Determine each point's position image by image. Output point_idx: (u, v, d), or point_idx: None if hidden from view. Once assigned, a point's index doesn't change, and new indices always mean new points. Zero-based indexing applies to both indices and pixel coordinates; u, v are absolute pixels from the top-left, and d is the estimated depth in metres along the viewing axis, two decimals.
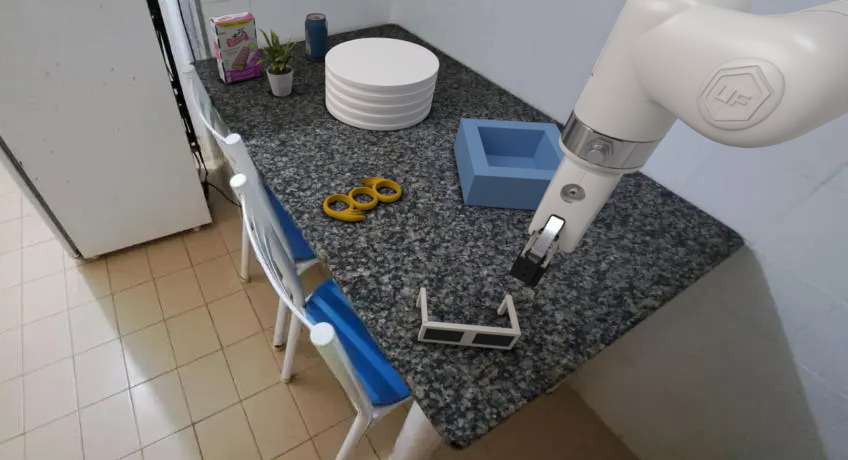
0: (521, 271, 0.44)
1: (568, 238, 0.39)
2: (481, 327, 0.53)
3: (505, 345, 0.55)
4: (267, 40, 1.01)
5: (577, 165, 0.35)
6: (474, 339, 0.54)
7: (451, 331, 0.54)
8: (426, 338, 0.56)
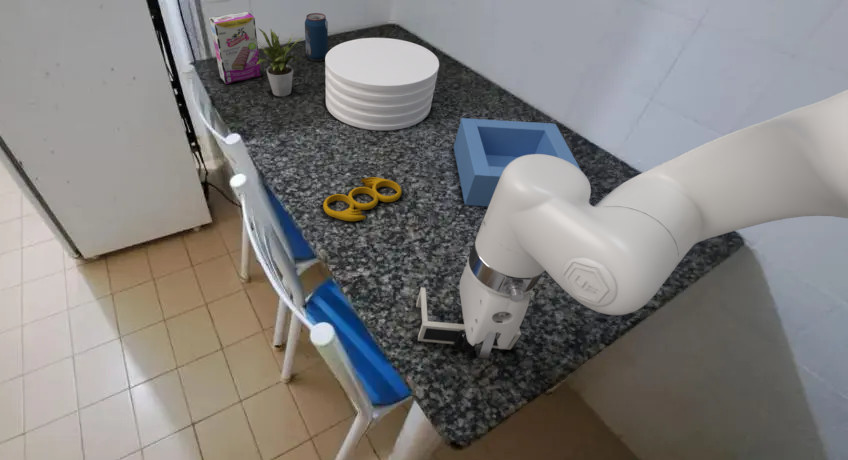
0: (466, 346, 0.53)
1: (505, 342, 0.45)
2: None
3: None
4: (267, 40, 1.01)
5: (500, 298, 0.41)
6: None
7: (451, 331, 0.54)
8: (426, 338, 0.56)
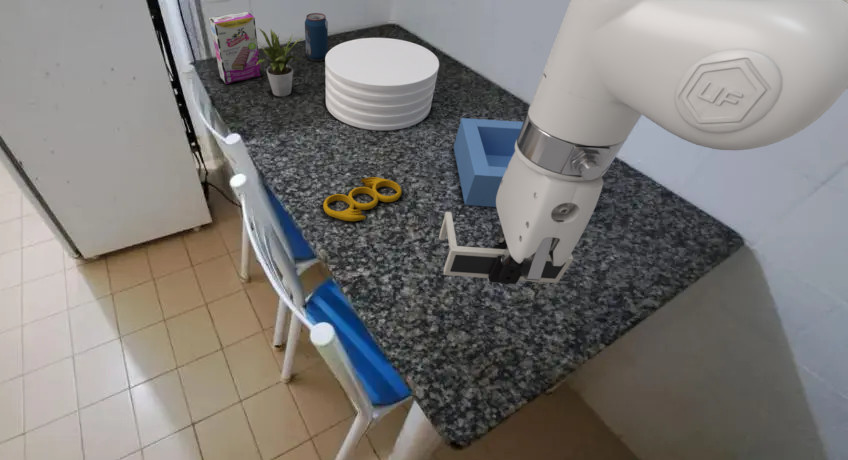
0: (505, 276, 0.43)
1: (563, 254, 0.35)
2: None
3: (552, 277, 0.45)
4: (267, 40, 1.01)
5: (564, 183, 0.31)
6: None
7: (486, 257, 0.43)
8: (454, 270, 0.45)
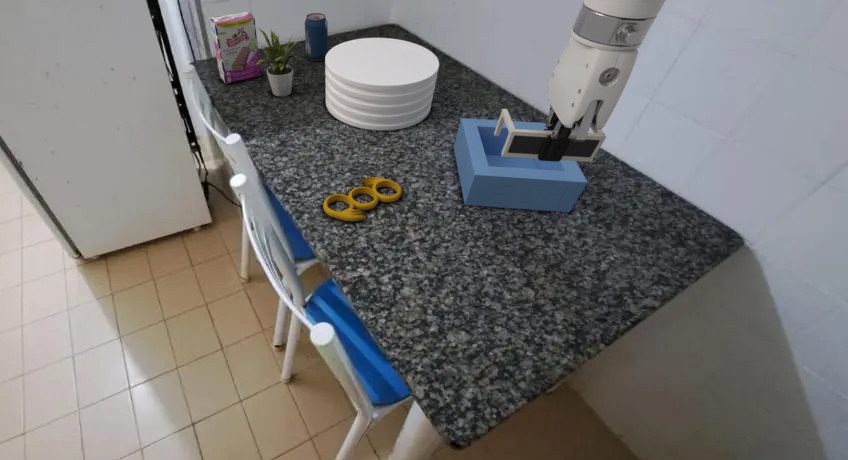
0: (553, 151, 0.56)
1: (605, 115, 0.48)
2: None
3: (588, 156, 0.57)
4: (267, 40, 1.01)
5: (610, 51, 0.43)
6: None
7: (538, 137, 0.56)
8: (511, 151, 0.58)
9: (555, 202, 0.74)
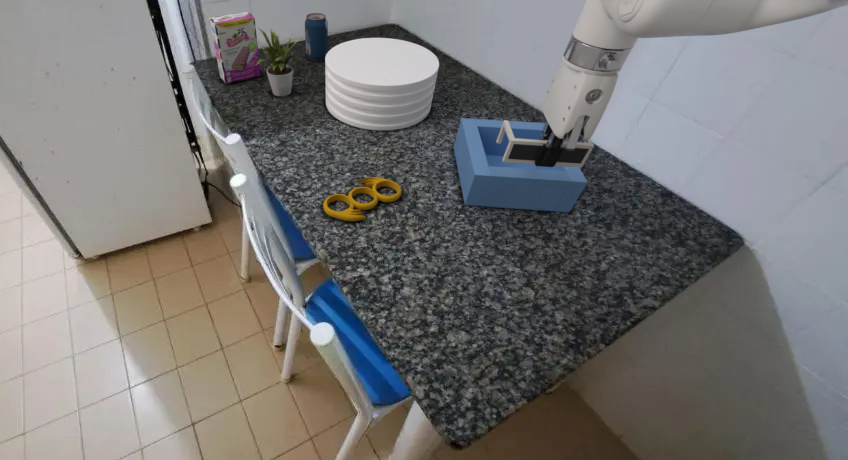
0: (547, 158, 0.64)
1: (591, 128, 0.56)
2: None
3: (578, 162, 0.65)
4: (267, 40, 1.01)
5: (594, 75, 0.51)
6: None
7: (534, 146, 0.64)
8: (511, 158, 0.66)
9: (555, 202, 0.74)
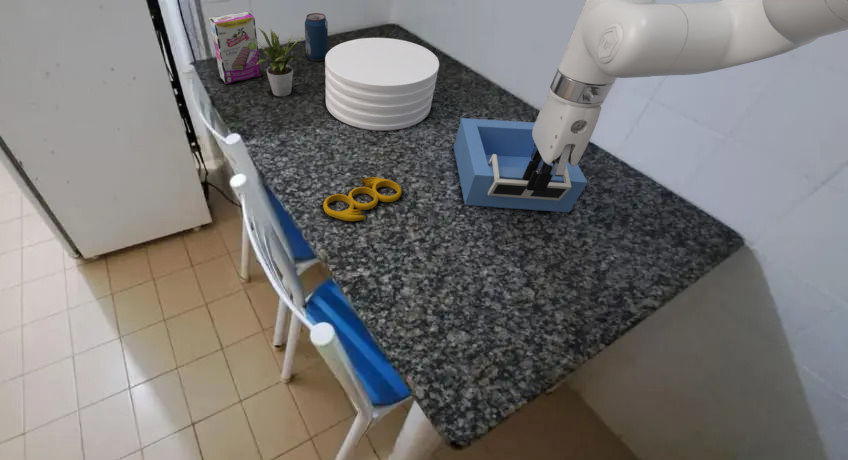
0: (538, 183, 0.66)
1: (577, 156, 0.59)
2: None
3: (556, 197, 0.72)
4: (267, 40, 1.01)
5: (579, 107, 0.55)
6: (533, 192, 0.71)
7: (517, 186, 0.70)
8: (495, 193, 0.72)
9: (555, 202, 0.74)
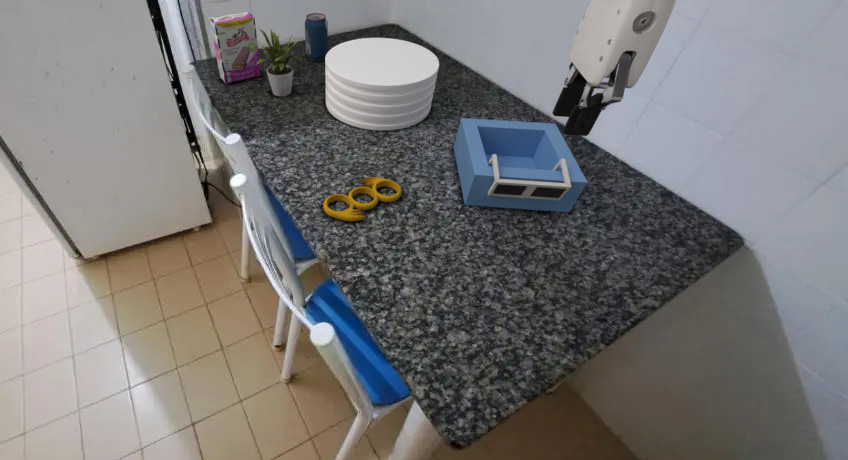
0: (580, 123, 0.49)
1: (637, 70, 0.43)
2: (541, 182, 0.69)
3: (556, 197, 0.72)
4: (267, 40, 1.01)
5: None
6: (533, 192, 0.71)
7: (517, 186, 0.70)
8: (495, 193, 0.72)
9: (555, 202, 0.74)
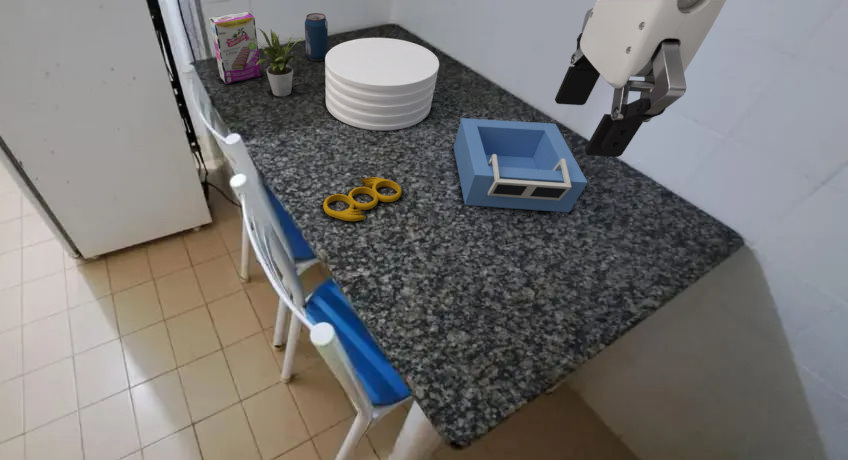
0: (612, 140, 0.35)
1: None
2: (541, 182, 0.69)
3: (556, 197, 0.72)
4: (267, 40, 1.01)
5: None
6: (533, 192, 0.71)
7: (517, 186, 0.70)
8: (495, 193, 0.72)
9: (555, 202, 0.74)
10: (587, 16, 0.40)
